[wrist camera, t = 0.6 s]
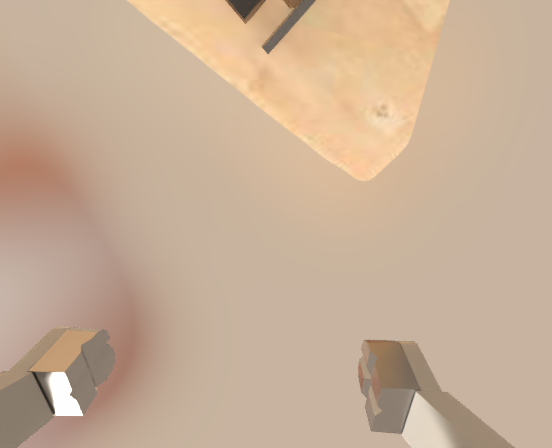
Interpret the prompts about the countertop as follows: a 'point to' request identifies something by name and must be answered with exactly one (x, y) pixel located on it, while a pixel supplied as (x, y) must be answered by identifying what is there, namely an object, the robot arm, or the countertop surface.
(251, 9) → the sled
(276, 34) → the rails
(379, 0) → the countertop surface
